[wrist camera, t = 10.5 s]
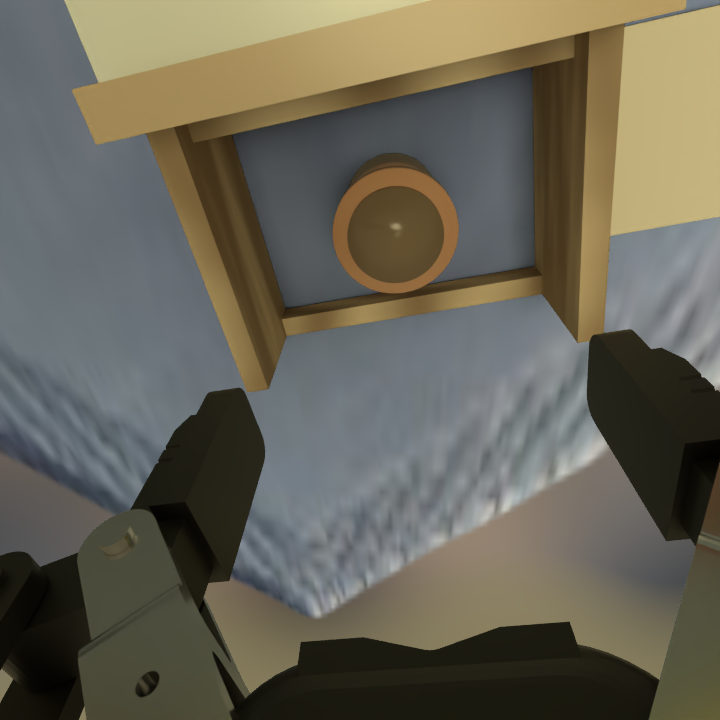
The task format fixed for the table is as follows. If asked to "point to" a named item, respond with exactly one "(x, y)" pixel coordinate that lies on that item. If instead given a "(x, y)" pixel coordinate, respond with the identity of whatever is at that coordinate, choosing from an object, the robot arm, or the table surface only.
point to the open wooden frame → (548, 277)
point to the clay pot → (395, 225)
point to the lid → (294, 48)
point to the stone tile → (668, 123)
